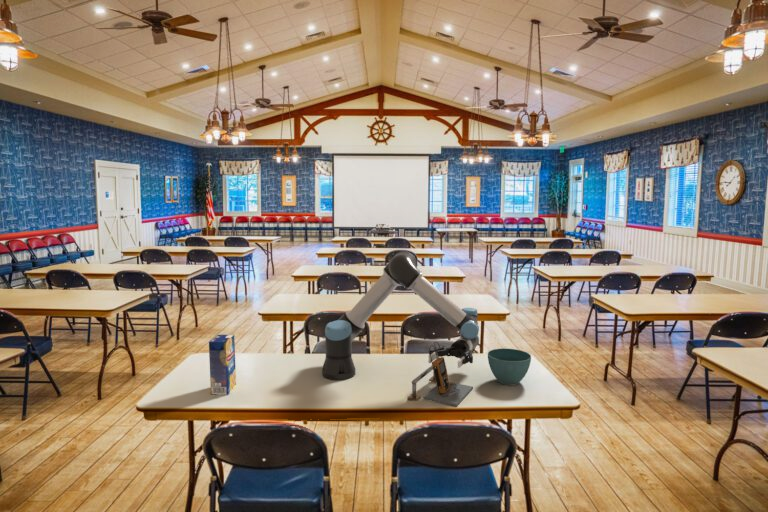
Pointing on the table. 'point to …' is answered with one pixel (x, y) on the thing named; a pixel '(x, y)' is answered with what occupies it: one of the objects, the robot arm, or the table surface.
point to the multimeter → (441, 374)
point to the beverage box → (222, 364)
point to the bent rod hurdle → (413, 395)
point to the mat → (449, 400)
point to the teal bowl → (509, 365)
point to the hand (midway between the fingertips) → (443, 362)
